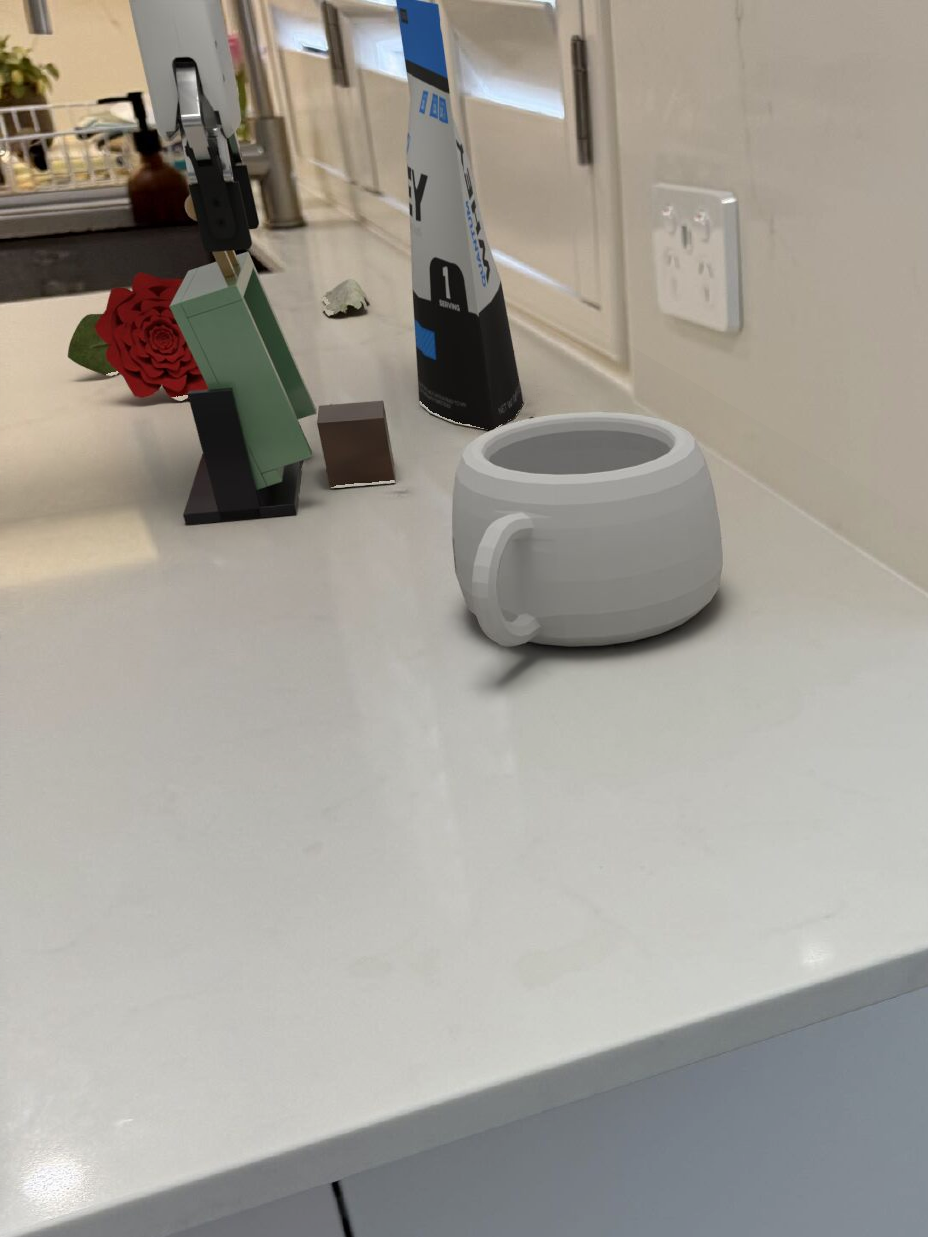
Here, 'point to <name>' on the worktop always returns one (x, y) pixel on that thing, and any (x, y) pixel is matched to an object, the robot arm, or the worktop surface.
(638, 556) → the mug
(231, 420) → the base
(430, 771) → the worktop surface
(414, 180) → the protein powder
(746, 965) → the worktop surface
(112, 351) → the flower
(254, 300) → the dish
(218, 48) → the robot arm
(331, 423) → the block
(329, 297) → the grey jagged shell
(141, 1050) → the worktop surface
